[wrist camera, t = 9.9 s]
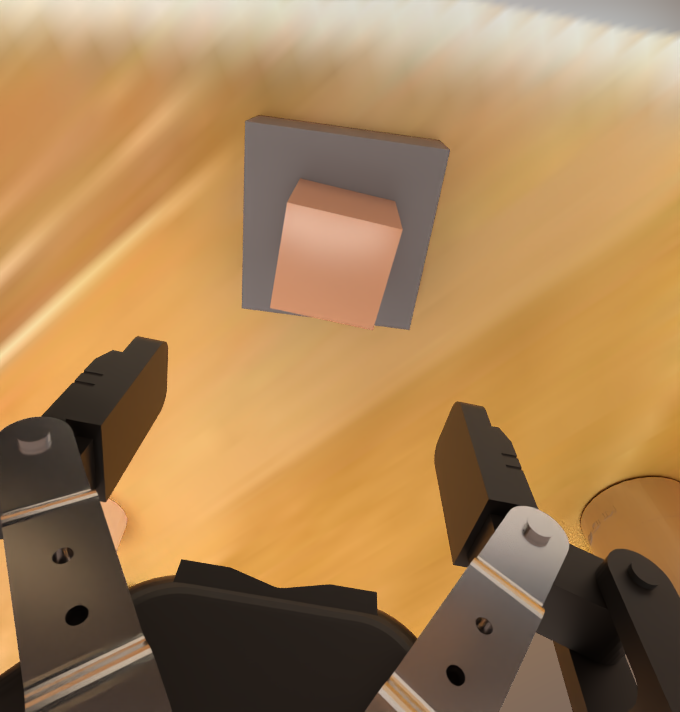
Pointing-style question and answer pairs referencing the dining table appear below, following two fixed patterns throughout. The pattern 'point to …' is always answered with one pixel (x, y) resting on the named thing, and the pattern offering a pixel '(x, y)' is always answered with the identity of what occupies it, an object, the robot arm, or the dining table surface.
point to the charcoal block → (347, 171)
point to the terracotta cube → (335, 254)
